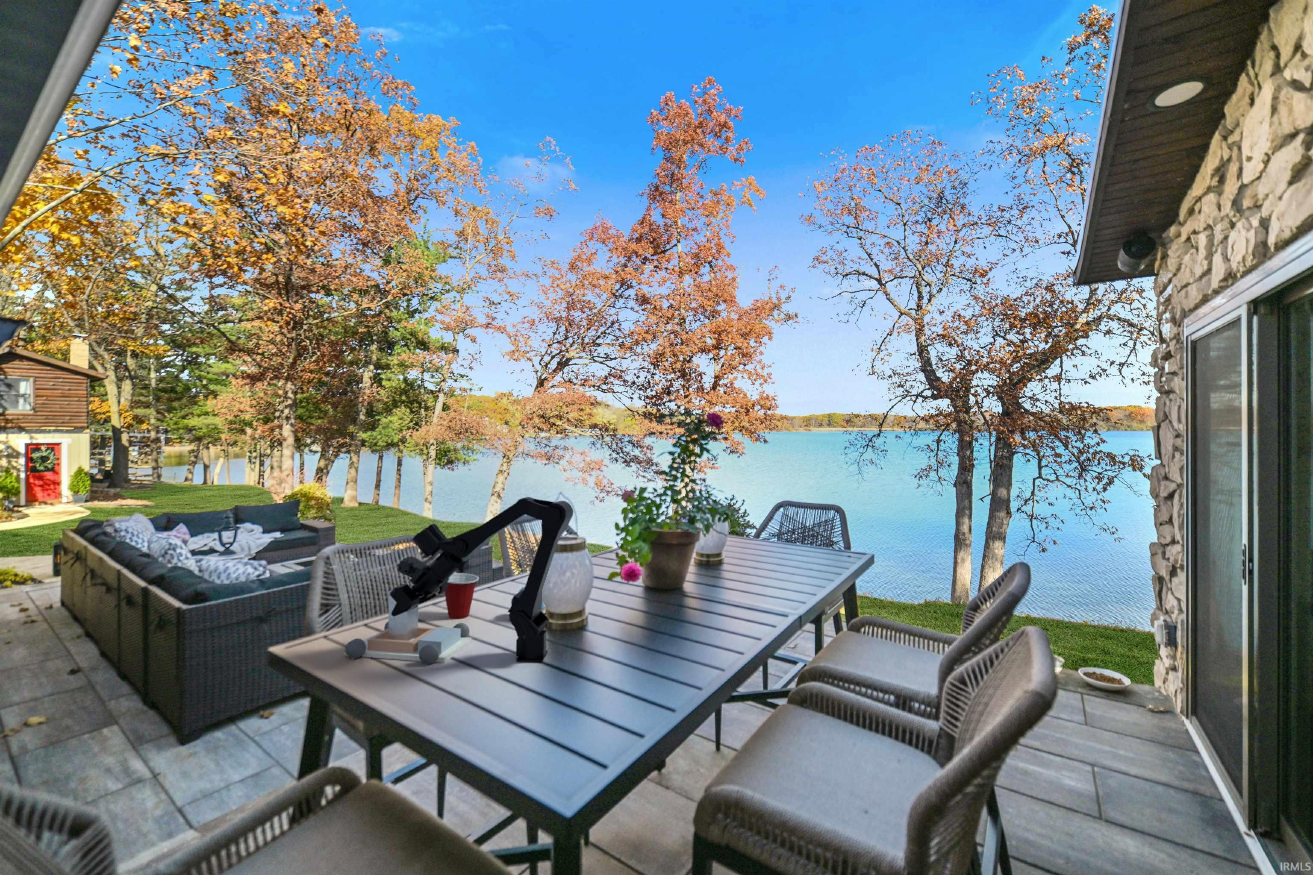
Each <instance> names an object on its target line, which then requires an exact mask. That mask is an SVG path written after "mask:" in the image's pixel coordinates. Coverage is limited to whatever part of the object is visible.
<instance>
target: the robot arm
mask: <svg viewBox="0 0 1313 875" xmlns="http://www.w3.org/2000/svg"><path fill="white" fill-rule="evenodd" d="M525 516H529V517H531V518H533V519H536V520H538V521H541V537H540V540H539V543H538V546H537V549H536V552H535V555H534V558H533V561H532V565H531V566H530V567H531V568H530V570H529V575H528V577H527V580H526V584H525V589H524V591H523V590H522V591H520V590H519V591H520V592H519V591H518V592H519V593H518V592H517V593H516V594H514V596H512V598H513V599H512V598H511V599H512V605H511V604H510V608H509V609H508V610H507V613H509V612H510V613H509V614H510V616H509V617H508V618H509V622H510V623H511V625H512V626H513V627H514V629H515V634H516V636H517V639H516V640H515V642H516V645H515V657H516V659H515V660H516V662H529V663H530V662H531V663H532V662H533V663H535V662H536V663H537V662H538V663H542V662H544V661H545V659H546V657H547V654H548V650H547V631H548V630H547V628H548V626H549V624H550V623H549V622H550V618H549V617H548V616H547V614H544V613H543V612H542V611H541V607H542V589H543V586H544V583H545V580H546V577H547V574H548V571H549V568H551V565H552V561H553V558H554V557H555V553H556V549H557V547H558V544H559V541H560V538H561V537H562V535H563V533H564V532H565V531H566V529H567V527H568V526H569V524H570V523H571V520H572V518H573V516H574V509H573V507H572V505H571V504H570V503H569V502H567V501H565V500H558V501H555V502H554V501H551V500H543V499H539V498H538V499H537V498H533V497H530V496H526V497H521V498H519V499H518V500H517V501H516V502H515V503H514V504H512V505H510V506H509V507H508V508H506V509H504V510H503V511H502V512H500V513H498V514H497V515H495V516H493V517H492V518H490V519H489V520H487V521H486V522H484V523H483V524H481V525H480V526H477V527H475V528H472V529H470V530H467V531H465V532H463V533H460V534H457V535H456V536H451V537H447V536H446V535H445V534H444V533H443V532H442V531H441V530H440V528H439V527H438V525H437V524H436V523H434V522H433V523H430V524H429V525H428V526H427V527H425V528H423V530H421V531H420V532H417V533H416V534H415V535H414V536H413V538H412V539H411V541H412V543H414V545H415V546H416V548H418V549H419V550H420V552H421V553H422V554H423V555H424V556H425V557H426V558H429V557H430V556H431V558H434V560H433V561H432V562H431V563H430V564H429V565H428V564H427V563H425V562H424V561H422V560H421V559H419V558H417V557H415V556H407V557H405V558H403V559H402V560H400V561H399V563H397V564H396V566H397V572H398V573H400V574H402V575H404V576H407V577H409V578H410V579H409V582H410V583H411V584H412V586H410V585H409V584H408V583H402V584H399V585H397V586H395V587H394V588H393V589H391V590H392V591H391V590H390V591H391V592H390V596H391V597H392V598H393V599H394V600H395V601H396V605H395V607H394V609H393V611H392V613H391V615H392V616H393V617H395V616H397V615H399V614H402V613H404V612H407V611H409V610H412V609H413V608H415V607H417V605H418V606H419V605H421V604H423V603H426V602H428V601H430V600H433V599H434V598H436V597H437V595H438V596H439V595H442V594H444V593H445V590H446V589H447V588H448V582H447V581H448V580H449V577H450V576H451V575H452V574H454V573H456V572H457V570H458V571H459V573H464V572H467V571H468V570H470V564H469V561H470V560H469V559H465V558H467V557H469V556H470V555H471V556H472V555H474V554H476V553H478V552H479V551H480V550H481V549H482V548H483V547H485V545H487V543H488V542H489V541H490V540H491V539H492V538H493V537H494V536H495V535H497V534H498V533H500V532H502V531H503V530H505V529H506V528H508V527H509V526H511V525H513V524H515V523H516V522H517V521H519V520H520V519H522V518H524V517H525ZM436 593H437V594H436Z"/></svg>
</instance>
